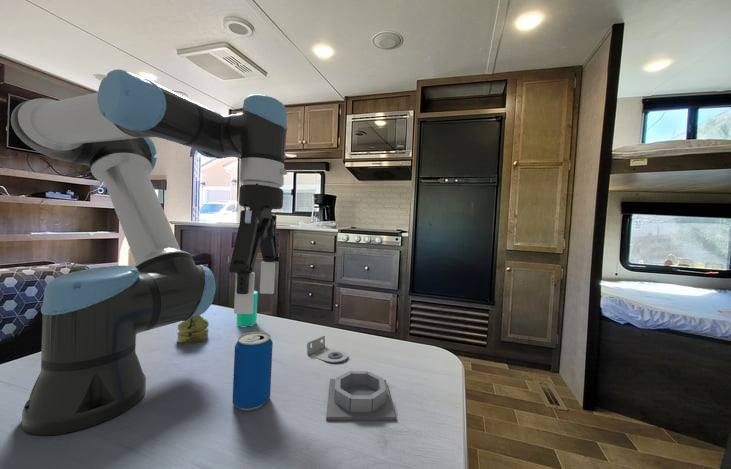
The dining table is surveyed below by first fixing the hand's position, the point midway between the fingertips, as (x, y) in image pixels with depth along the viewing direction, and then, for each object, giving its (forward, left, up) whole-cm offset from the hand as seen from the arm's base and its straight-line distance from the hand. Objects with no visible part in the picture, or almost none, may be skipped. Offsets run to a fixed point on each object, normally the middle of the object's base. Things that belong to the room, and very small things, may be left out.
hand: (256, 302), depth 51 cm
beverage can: (0, 0, -19) cm, 19 cm away
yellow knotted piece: (-25, +28, -19) cm, 42 cm away
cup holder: (+20, +1, -18) cm, 27 cm away
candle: (-15, +41, -19) cm, 47 cm away
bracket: (+13, +20, -19) cm, 30 cm away
